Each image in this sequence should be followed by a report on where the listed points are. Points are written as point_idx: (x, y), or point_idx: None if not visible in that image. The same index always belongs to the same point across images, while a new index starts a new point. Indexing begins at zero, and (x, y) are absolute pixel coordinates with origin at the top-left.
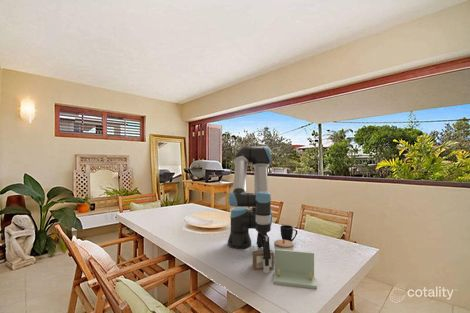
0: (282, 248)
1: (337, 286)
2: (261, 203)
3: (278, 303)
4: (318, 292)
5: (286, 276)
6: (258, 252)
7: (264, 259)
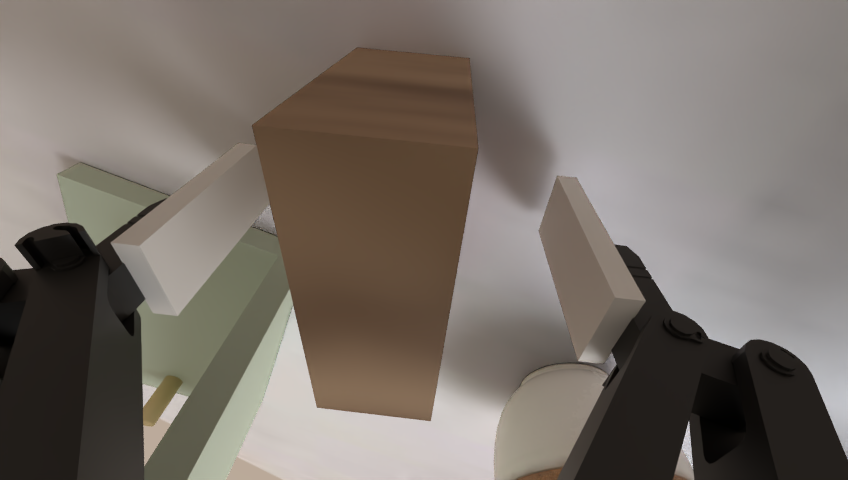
0: (518, 471)
1: None
2: None
3: None
4: None
5: None
6: (343, 244)
7: (131, 242)
